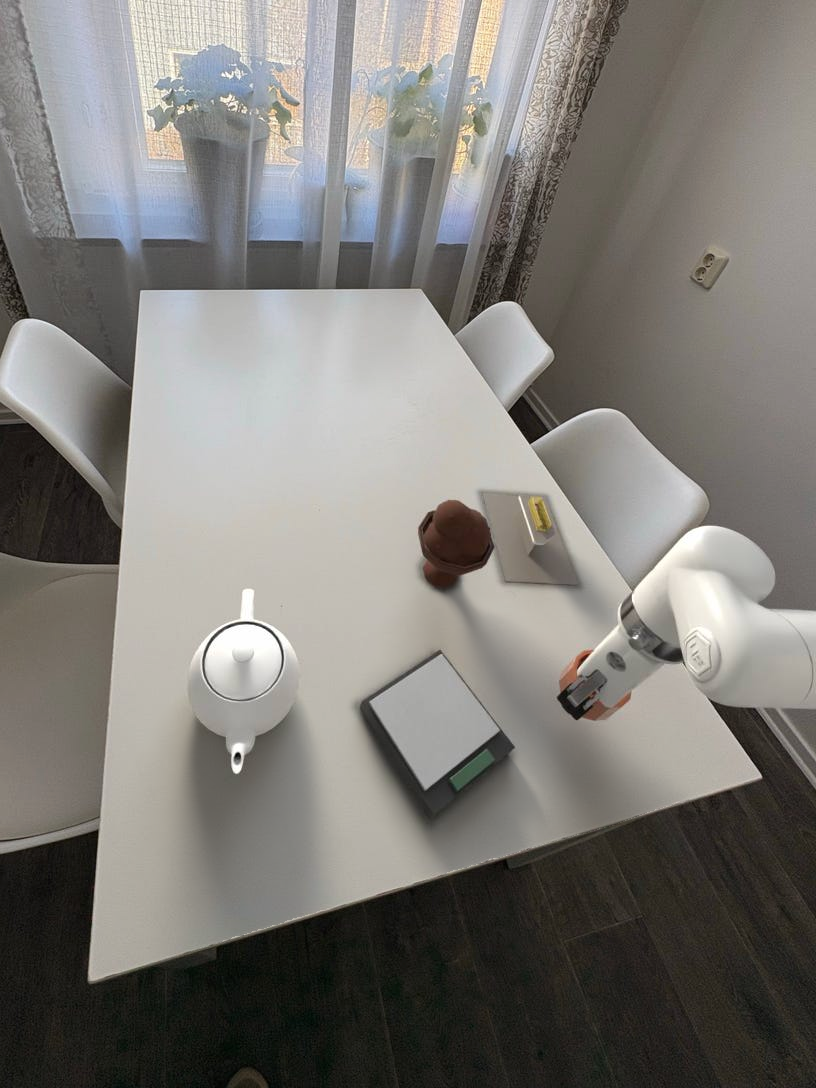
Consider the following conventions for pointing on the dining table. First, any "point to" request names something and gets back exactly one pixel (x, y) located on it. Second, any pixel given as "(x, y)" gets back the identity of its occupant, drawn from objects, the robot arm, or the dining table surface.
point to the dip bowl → (598, 708)
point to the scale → (435, 731)
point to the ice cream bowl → (453, 542)
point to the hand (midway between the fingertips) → (587, 691)
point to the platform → (528, 540)
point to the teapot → (243, 680)
